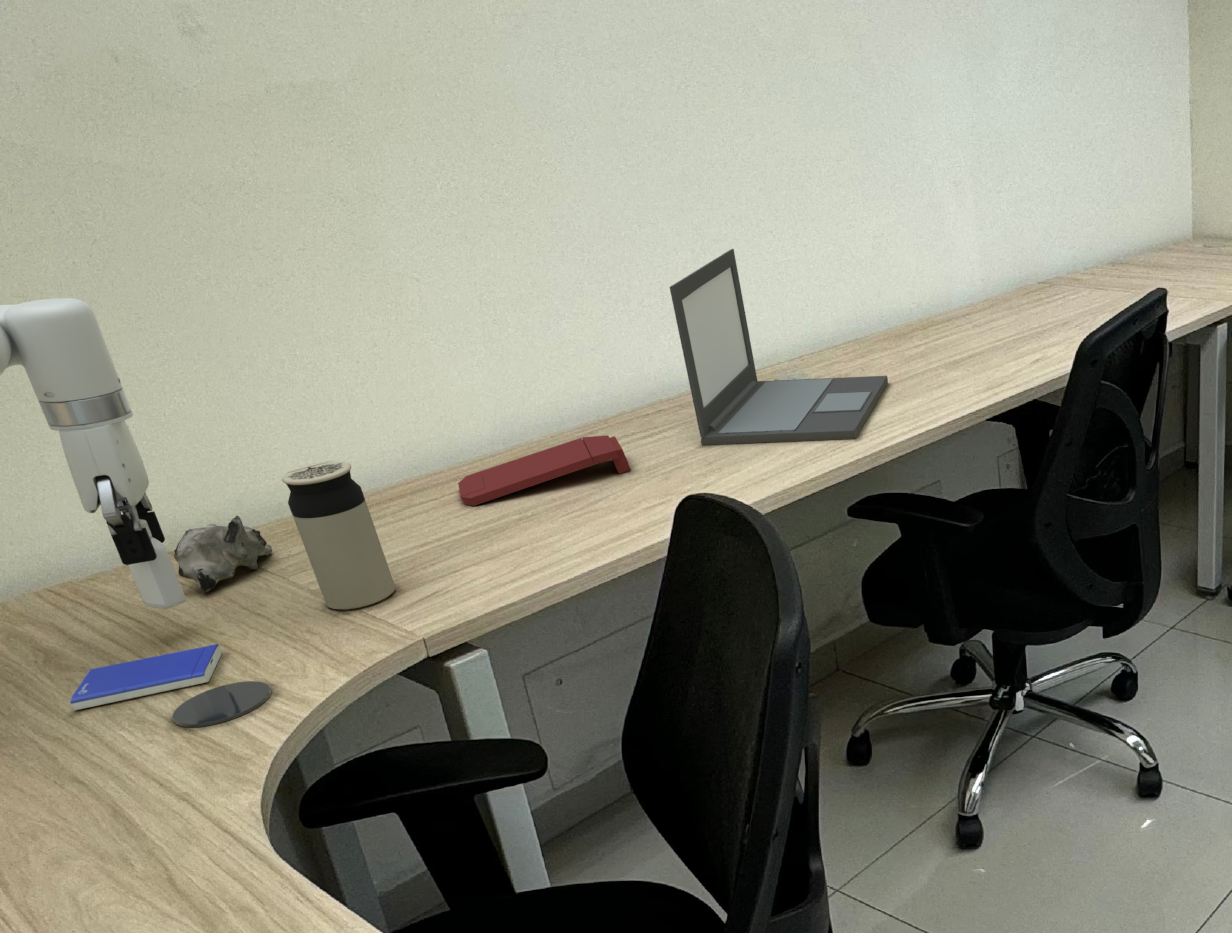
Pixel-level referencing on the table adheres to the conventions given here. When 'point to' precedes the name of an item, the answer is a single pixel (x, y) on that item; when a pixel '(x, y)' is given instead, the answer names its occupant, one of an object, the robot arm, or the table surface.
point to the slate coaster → (221, 704)
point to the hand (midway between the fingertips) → (144, 551)
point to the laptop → (728, 375)
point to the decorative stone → (218, 552)
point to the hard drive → (146, 676)
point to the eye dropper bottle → (157, 578)
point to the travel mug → (338, 535)
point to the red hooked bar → (541, 468)
